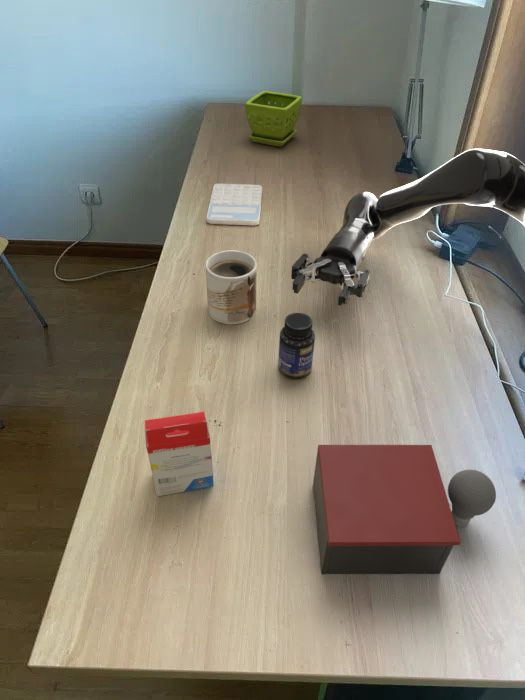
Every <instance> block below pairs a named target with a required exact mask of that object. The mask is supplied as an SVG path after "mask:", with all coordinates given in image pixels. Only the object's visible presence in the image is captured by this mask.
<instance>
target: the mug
mask: <svg viewBox="0 0 525 700" xmlns="http://www.w3.org/2000/svg"><path fill="white" fill-rule="evenodd" d="M204 265H205V278H206V279H205V283H206V301H207V312H208V315H209V316H210V317H211V318H212V319H213V320H214V321H216V322H218V323H221V324H225V325H239V324H243V323H246V322H248V321H250V320H251V319H252V318H253V317H254V316H255V315H256V312H257V282H258V281H257V280H258V279H257V275H258V273H257V271H258V270H257V269H258V264H257V260H256V258H255V257H253V255H251V254H249V253H247V252H245V251H242V250H236V249H235V250H234V249H229V250H228V249H227V250H221V251H218V252H215V253H213V254H212V255H210V256H209V257H208V258H207V259H206V261H205V264H204Z"/></svg>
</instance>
